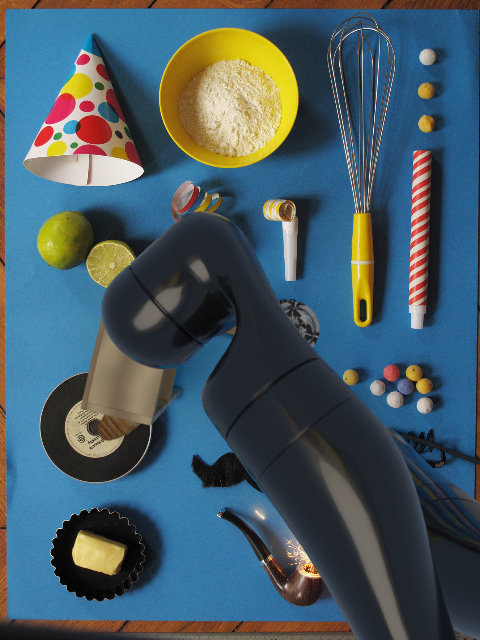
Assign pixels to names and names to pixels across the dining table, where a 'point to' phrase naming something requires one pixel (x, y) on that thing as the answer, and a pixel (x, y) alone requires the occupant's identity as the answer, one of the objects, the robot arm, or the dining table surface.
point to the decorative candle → (302, 319)
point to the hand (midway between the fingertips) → (220, 305)
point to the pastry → (115, 427)
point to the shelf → (126, 385)
